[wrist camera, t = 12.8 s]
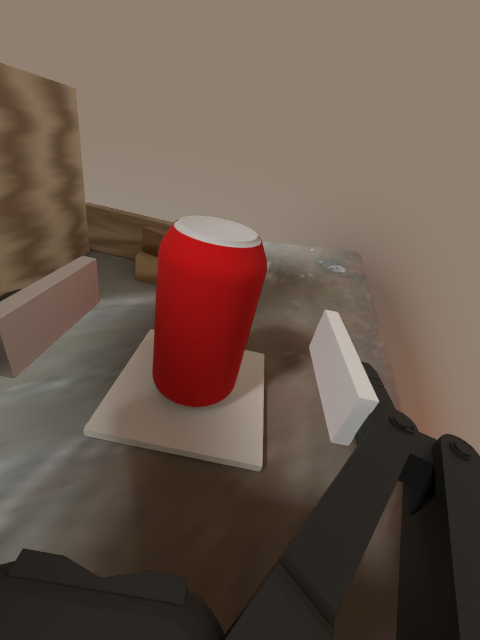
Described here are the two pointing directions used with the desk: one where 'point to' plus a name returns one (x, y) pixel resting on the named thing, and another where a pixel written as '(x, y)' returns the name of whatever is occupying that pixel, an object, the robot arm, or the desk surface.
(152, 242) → the offcut upper
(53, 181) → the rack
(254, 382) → the felt pad
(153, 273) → the offcut lower
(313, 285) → the desk surface
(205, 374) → the beverage can
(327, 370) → the robot arm
